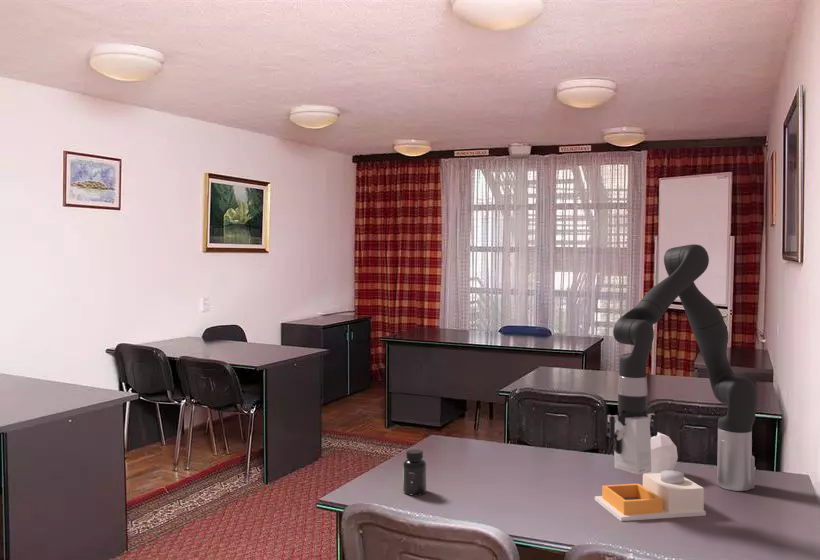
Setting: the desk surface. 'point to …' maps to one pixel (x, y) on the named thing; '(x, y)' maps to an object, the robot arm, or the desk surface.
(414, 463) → the supplement bottle
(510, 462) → the desk surface
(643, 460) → the skincare box
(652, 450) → the geodesic sphere
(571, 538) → the desk surface
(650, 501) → the box holder with button
